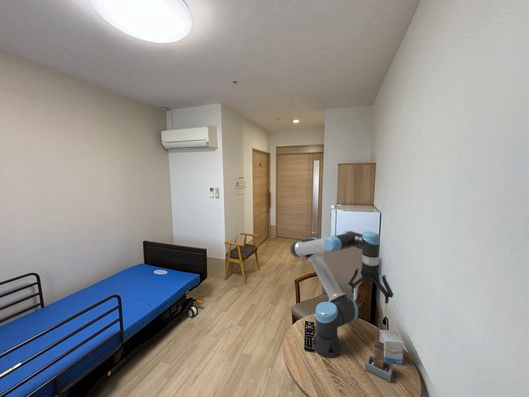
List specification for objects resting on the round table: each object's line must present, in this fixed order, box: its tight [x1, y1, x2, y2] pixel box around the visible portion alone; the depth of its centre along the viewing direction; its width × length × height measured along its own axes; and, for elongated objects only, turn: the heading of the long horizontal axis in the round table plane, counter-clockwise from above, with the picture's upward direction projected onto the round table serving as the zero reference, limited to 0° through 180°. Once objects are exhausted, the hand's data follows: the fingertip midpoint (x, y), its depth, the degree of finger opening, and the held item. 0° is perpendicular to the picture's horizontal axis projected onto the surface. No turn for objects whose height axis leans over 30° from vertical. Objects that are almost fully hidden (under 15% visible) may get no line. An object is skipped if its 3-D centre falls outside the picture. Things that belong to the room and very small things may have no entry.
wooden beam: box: [373, 340, 384, 370], centre depth 101 cm, size 4×4×13 cm
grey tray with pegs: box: [364, 353, 394, 383], centre depth 102 cm, size 10×7×4 cm
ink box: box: [379, 329, 404, 365], centre depth 109 cm, size 8×8×12 cm
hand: (369, 303), depth 107 cm, fingers open, 13 cm apart
